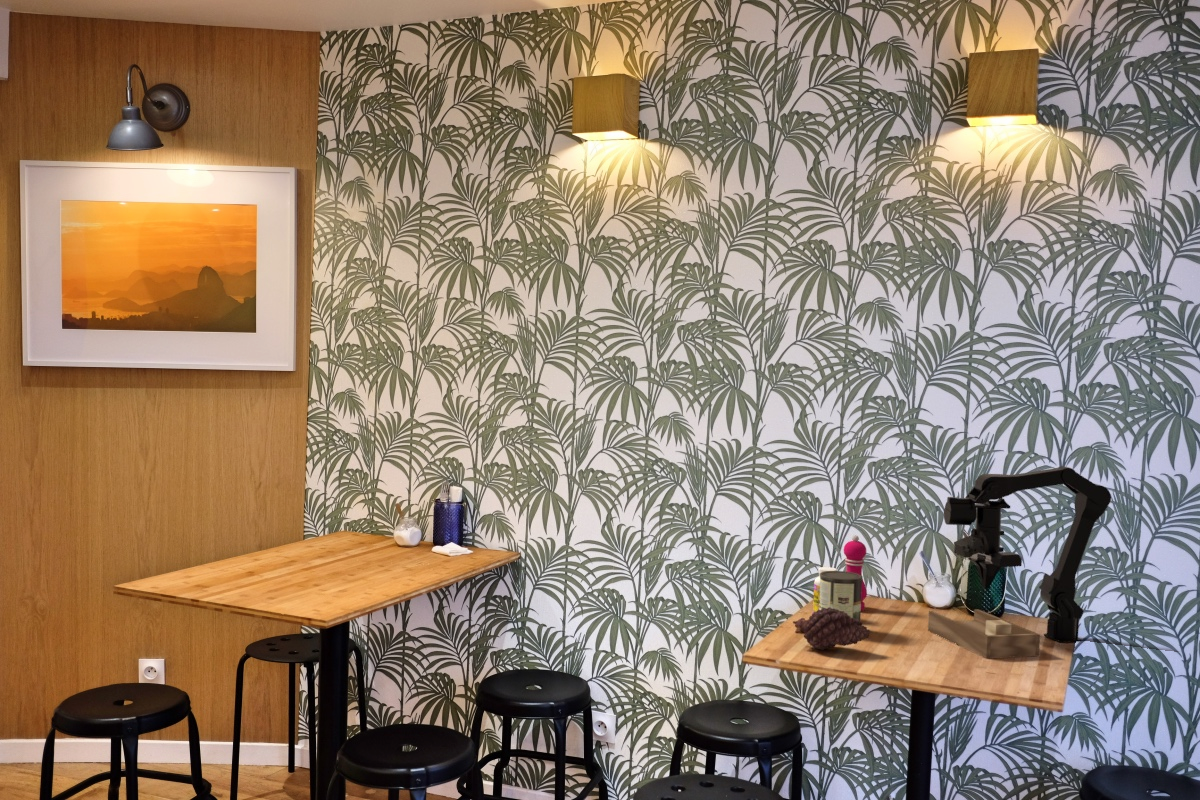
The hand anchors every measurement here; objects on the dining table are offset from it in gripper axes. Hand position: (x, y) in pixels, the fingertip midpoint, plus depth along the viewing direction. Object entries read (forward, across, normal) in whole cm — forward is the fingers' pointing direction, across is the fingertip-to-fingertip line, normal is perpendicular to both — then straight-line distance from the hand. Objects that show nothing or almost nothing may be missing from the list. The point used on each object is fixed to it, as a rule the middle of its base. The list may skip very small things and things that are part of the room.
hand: (985, 588), depth 260 cm
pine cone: (+12, +4, -45) cm, 47 cm away
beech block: (+9, +13, -6) cm, 17 cm away
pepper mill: (+12, -31, -18) cm, 38 cm away
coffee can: (+12, -11, -34) cm, 38 cm away
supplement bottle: (+12, -24, -30) cm, 40 cm away
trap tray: (+12, +5, -5) cm, 14 cm away
